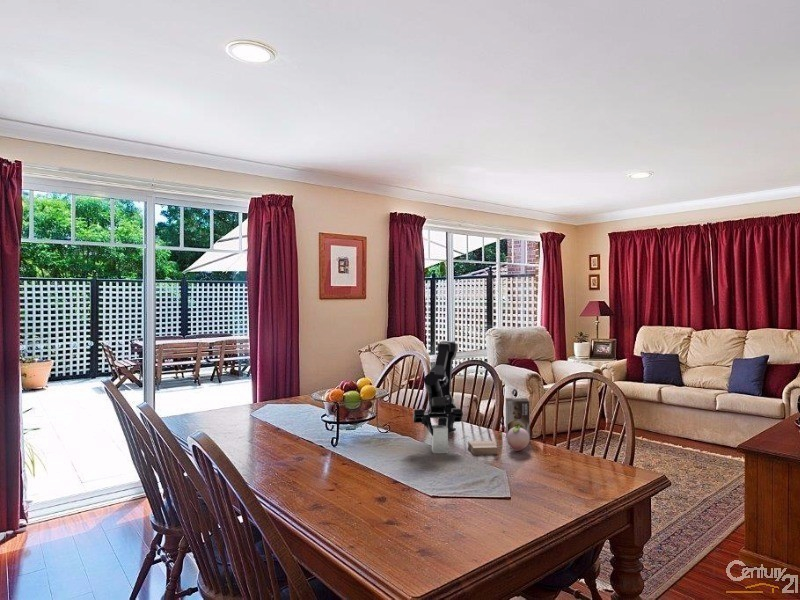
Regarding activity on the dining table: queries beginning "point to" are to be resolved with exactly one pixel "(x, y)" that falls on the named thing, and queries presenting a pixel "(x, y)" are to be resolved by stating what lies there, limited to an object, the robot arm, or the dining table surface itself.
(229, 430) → the dining table surface
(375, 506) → the dining table surface
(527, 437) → the decorative fruit
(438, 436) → the tea tin
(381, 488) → the dining table surface
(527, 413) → the coffee box
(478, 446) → the plinth
